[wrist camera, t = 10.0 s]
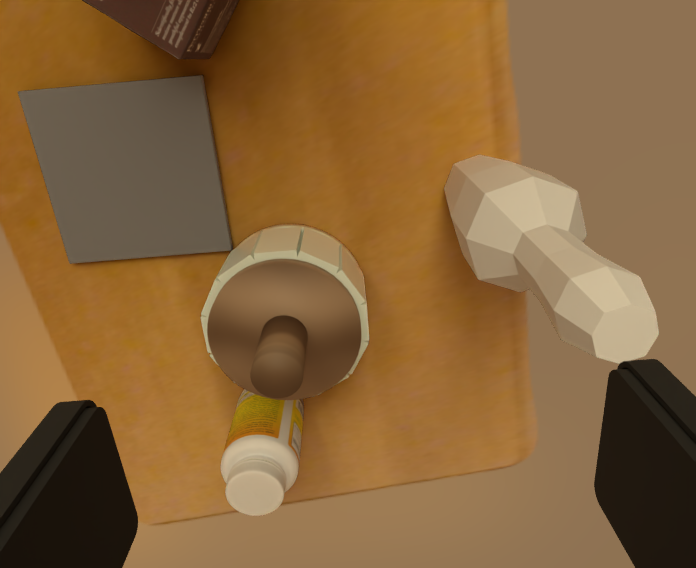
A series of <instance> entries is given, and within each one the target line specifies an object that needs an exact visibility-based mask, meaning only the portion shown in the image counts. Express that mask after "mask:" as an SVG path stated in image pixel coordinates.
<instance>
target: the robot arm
mask: <svg viewBox="0 0 696 568" xmlns="http://www.w3.org/2000/svg"><path fill="white" fill-rule="evenodd" d="M594 487H595V493H596V497H597V500H598V502H599V505H600V506H601V508H602V510H603V512H604V513H605V515H606V517H607V519H608V520H609V522H610V524H611V526H612V527H613V529H614V531H615V533H616V534H617V536H618V538H619V540H620V541H621V543H622V545H623V547H624V548H625V550H626V552H627V554H628V555H629V557H630V559H631V561H632V563H633V564H634V566H635V568H696V397H695V396H694V395H693V394H692V393H691V392H690V391H689V390H688V389H687V388H686V387H685V386H684V385H683V384H682V383H681V382H680V381H679V380H678V379H677V378H676V377H675V376H674V375H673V374H672V373H671V372H670V371H669V370H668V369H667V368H666V367H665V366H664V365H663V364H662V363H660V362H659V361H658V360H655V359H647V360H634V361H623V362H621V363H620V364H619V366H618V369H617V370H612V371H611V372H610V374H609V378H608V385H607V392H606V400H605V407H604V415H603V422H602V429H601V437H600V444H599V453H598V459H597V467H596V474H595V482H594ZM137 527H138V516H137V512H136V509H135V505H134V502H133V499H132V496H131V492H130V489H129V486H128V482H127V479H126V476H125V473H124V469H123V466H122V463H121V460H120V456H119V453H118V450H117V447H116V443H115V440H114V437H113V434H112V430H111V427H110V424H109V421H108V417H107V414H106V412H105V410H104V409H103V408H101V407H97V406H96V404H95V403H94V402H93V401H91V400H83V401H71V402H60V403H57V404H56V405H55V406H53V408H52V409H51V410H50V411H49V413H48V414H47V415H46V417H45V418H44V419H43V420H42V421H41V423H40V424H39V425H38V426H37V428H36V429H35V430H34V431H33V433H32V434H31V435H30V437H29V438H28V439H27V440H26V442H25V443H24V444H23V445H22V447H21V448H20V449H19V450H18V452H17V453H16V454H15V455H14V457H13V458H12V459H11V460H10V462H9V463H8V464H7V465H6V467H5V468H4V469H3V471H2V472H1V473H0V568H122V567H123V565H124V562H125V560H126V557H127V555H128V552H129V550H130V548H131V545H132V543H133V541H134V538H135V535H136V532H137Z"/></svg>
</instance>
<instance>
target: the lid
mask: <svg viewBox="0 0 696 568" xmlns="http://www.w3.org/2000/svg"><path fill="white" fill-rule="evenodd" d="M207 335H208V342H209V346H210V349H211V352H212V354H213V356H214V359H215V360H216V362H217V364H218V365H219V367H220V368H221V369H222V371H223V372H224V373H225V374H226V375H227V376H228V377H229V378H230V379H231V380H232V381H233V382H235V383H236V384H238V385H239V386H240V387H242V388H244V389H246V390H247V391H249V392H252V393H254V394H256V395H259V396H262V397H266V398H271V399H276V400H298V399H304V398H308V397H312V396H315V395H318V394H320V393H323V392H324V391H326V390H328V389H330V388H332V387H333V386H334V385H336V384H337V383H338V382H339V381H341V380H342V379H343V378H344V377H345V376H346V374H347V373H348V372H349V371H350V369H351V368H352V366H353V365H354V363H355V361H356V358H357V356H358V353H359V350H360V345H361V321H360V315H359V311H358V308H357V305H356V303H355V301H354V299H353V297H352V295H351V294H350V292H349V291H348V289H347V288H346V287H345V286H344V285H343V284H342V282H341V281H339V280H338V279H337V278H336V277H335V276H334V275H332V274H331V273H329V272H328V271H326V270H325V269H323V268H321V267H319V266H317V265H314V264H311V263H308V262H305V261H301V260H296V259H271V260H265V261H261V262H258V263H255V264H252V265H250V266H248V267H246V268H244V269H242V270H241V271H239V272H238V273H236V274H235V275H234V276H232V277H231V278H230V279H229V280H228V281H227V282H226V283H225V284H224V286H223V287H222V289H221V290H220V292H219V293H218V295H217V297H216V299H215V301H214V303H213V305H212V307H211V310H210V314H209V318H208V324H207Z"/></svg>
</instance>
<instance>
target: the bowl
mask: <svg viewBox="0 0 696 568" xmlns="http://www.w3.org/2000/svg"><path fill="white" fill-rule="evenodd" d="M271 259H296V260H301V261H305V262H308V263H311V264H314V265H317V266H319V267H321V268H323V269H325V270H326V271H328V272H329V273H331V274H332V275H334V276H335V277H336V278H337V279H338V280H339V281H341V282H342V284H343V285H344V286H345V287H346V288H347V289H348V291H349V292H350V294H351V295H352V297H353V299H354V301H355V303H356V305H357V308H358V311H359V315H360V321H361V345H360V350H359V353H358V356H357V358H356V361H355V363H354V365H353V366H352V368H351V369H350V371H349V372H348V373H347V374H346V376H345V377H344V378H343V379H342V380H341V381H343V380H345V379H346V378H348V377H349V374H352V373H353V371H354V369H355V367H356V366H357V364H358V362H359V360H360V358H361V357H362V355H363V353H364V351H365V349H366V348H367V346H368V344H369V328H368V315H367V302H366V292H365V283H364V276H363V272H362V271H361V269H360V267H359V265H358V263H357V261H356V259H355V258H354V256H353V255H352V253H351V252H350V251H349V250H348V248H347V247H346V246H345V245H344V244H342V243H341V242H340V241H339V240H338V239H336V238H335V237H333V236H332V235H330V234H328V233H327V232H325V231H323V230H320V229H317V228H315V227H311V226H307V225H302V224H280V225H274V226H270V227H266V228H264V229H261V230H259V231H257V232H255V233H253V234H252V235H250V236H248V237H247V238H246V239H244V240H243V241H242V242H241V243H240V244H239V245H238V246H237V247H236V248H235V249H234V250H232V251H231V253H229V255H228V257H227V259H226V261H225V262H224V264H223V266H222V268H221V270H220V271H219V273H218V275H217V277H216V279H215V281H214V283H213V286H212V288H211V291H210V293H209V295H208V298H207V300H206V303H205V305H204V308H203V310H202V312H201V315H202V316H201V317H200V318H201V322H202V327H203V332H204V337H205V341H206V346H207V351H208V353H210V357H211V358H212V359H213V360H214V361H215V362H216V360H215V359H214V356H213V354H212V352H211V349H210V346H209V342H208V335H207V324H208V318H209V314H210V310H211V307H212V305H213V303H214V301H215V299H216V297H217V295H218V293H219V292H220V290H221V289H222V287H223V286H224V284H225V283H226V282H227V281H228V280H229V279H230V278H231V277H232V276H234V275H235V274H236V273H238V272H239V271H241V270H242V269H244V268H246V267H248V266H250V265H252V264H255V263H258V262H261V261H265V260H271ZM216 364H217V362H216ZM217 365H218V364H217ZM218 366H219V365H218ZM341 381H339V382H338V383H340V382H341ZM234 383H235V382H234ZM338 383H337V384H338ZM238 386H239V385H238ZM334 386H335V385H334ZM324 392H325V391H324ZM320 394H321V393H320ZM318 395H319V394H318ZM312 397H314V396H312Z"/></svg>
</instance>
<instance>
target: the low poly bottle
mask: <svg viewBox="0 0 696 568" xmlns="http://www.w3.org/2000/svg"><path fill="white" fill-rule="evenodd" d="M444 191H445V195H446V199H447V203H448V207H449V211H450V215H451V218H452V222H453V225H454V228H455V231H456V235H457V238H458V241H459V245H460V248H461V251H462V254H463V256H464V257H465V259H466V260H467V262H468V264H469V265H470V267H471V269H472V270H473V272H474V274H475V275H476V277H477V279H478V280H481V281H484V282H487V283H491V284H494V285H497V286H501V287H504V288H507V289H511V290H514V291H517V292H523V291H526V290H529V289H531V291H532V292H533V293H534V295H535V296H536V297H537V298H538V299H539V301H540V302H541V304H542V306H543V308H544V309H545V311H546V313H547V315H548V316H549V319H550V321H551V322H552V324H553V326H554V328H555V330H556V332H557V334H558V335H559V337H560V339H561V340H562V341H564V342H566V343H568V344H571V345H573V346H575V347H577V348H579V349H581V350H583V351H585V352H587V353H589V354H591V355H593V356H595V357H598V358H601V359H605V360H608V361H612V362H615V363H618V364H620V363H621V362H623V361H630V360H634V359H637V358H640V357H643V356H646V354H647V353H648V351H649V349H650V348H651V346H652V345H653V343H654V341H655V339H656V338H657V336H658V335H659V330H658V324H657V319H656V313H655V310H654V307H653V305H652V303H651V301H650V298H649V296H648V294H647V292H646V289H645V287H644V285H643V283H642V280H641V278H640V277H639V276H638V275H635V274H634V273H632V272H630V271H628V270H626V269H625V268H623V267H621V266H619V265H617V264H615V263H613V262H611V261H610V260H608V259H606V258H604V257H602V256H600V255H598V254H597V253H595V252H594V251H593V250H592V249H590V248H589V247H587V246H586V245H585V244H584V243H583V242H584V240H585V238H586V236H587V233H586V228H585V223H584V219H583V214H582V209H581V204H580V199H579V194H578V191H577V190H575V189H573V188H571V187H570V186H568V185H566V184H565V183H563V182H561V181H559V180H557V179H556V178H554V177H553V176H551V175H549V174H546V173H543V172H540V171H537V170H534V169H531V168H528V167H525V166H523V165H520V164H517V163H514V162H511V161H507V160H502V159H497V158H493V157H488V156H483V155H476V156H473V157H471V158H468V159H465V160H463V161H460V162H457V163H454V164H453V167H452V169H451V172H450V174H449V177H448V179H447V182H446V184H445V187H444Z"/></svg>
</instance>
